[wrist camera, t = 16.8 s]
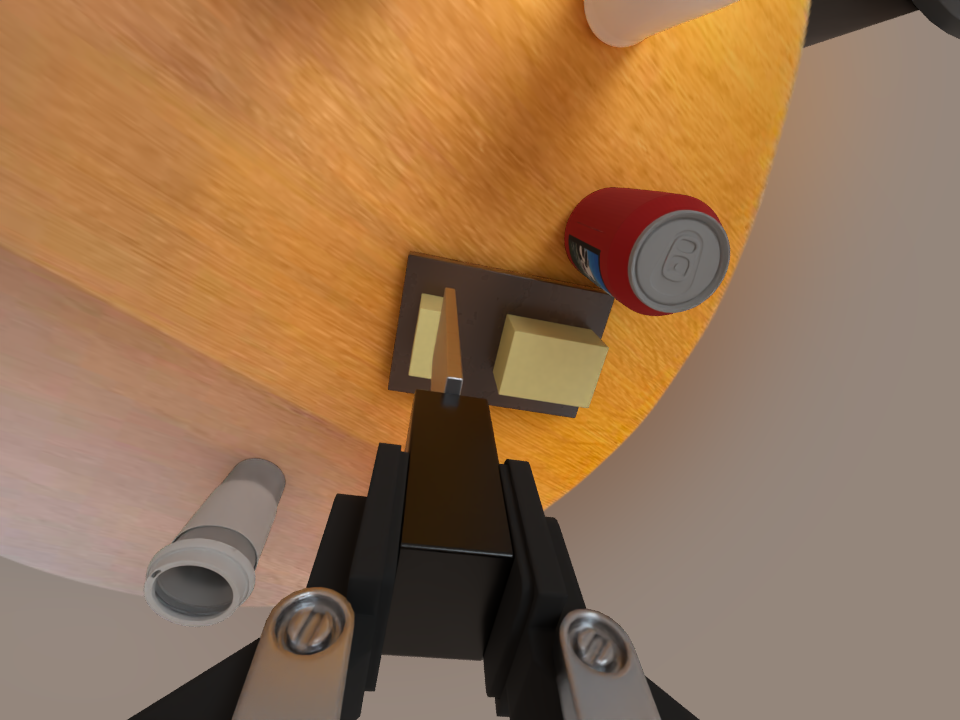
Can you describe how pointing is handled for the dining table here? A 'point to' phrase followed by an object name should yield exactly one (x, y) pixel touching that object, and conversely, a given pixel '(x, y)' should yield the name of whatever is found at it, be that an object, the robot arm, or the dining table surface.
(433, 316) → the butter slice
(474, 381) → the board
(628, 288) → the beverage can
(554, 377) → the butter block
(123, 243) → the dining table surface
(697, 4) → the drinking glass
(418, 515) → the knife
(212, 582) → the cup
